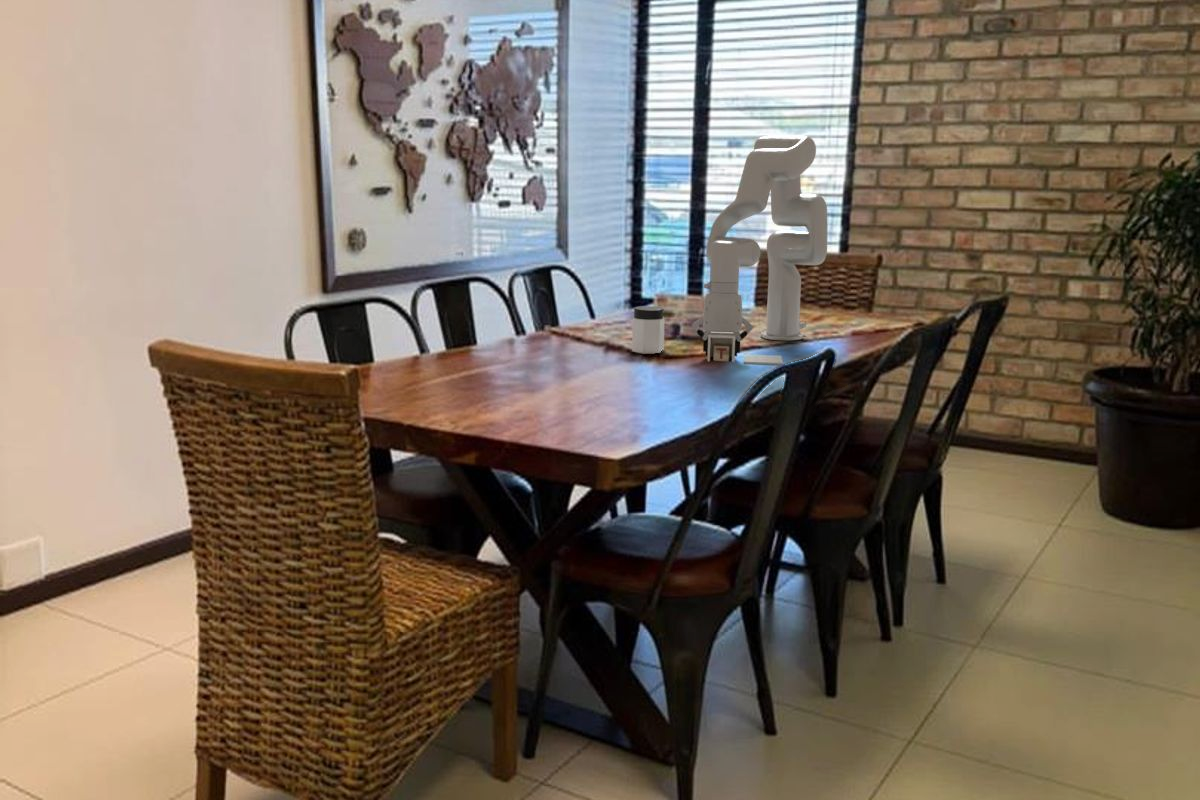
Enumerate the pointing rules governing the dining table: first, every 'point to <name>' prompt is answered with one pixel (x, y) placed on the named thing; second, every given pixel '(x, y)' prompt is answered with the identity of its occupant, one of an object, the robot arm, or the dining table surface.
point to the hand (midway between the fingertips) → (721, 354)
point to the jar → (648, 330)
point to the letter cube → (721, 352)
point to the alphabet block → (721, 339)
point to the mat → (763, 359)
